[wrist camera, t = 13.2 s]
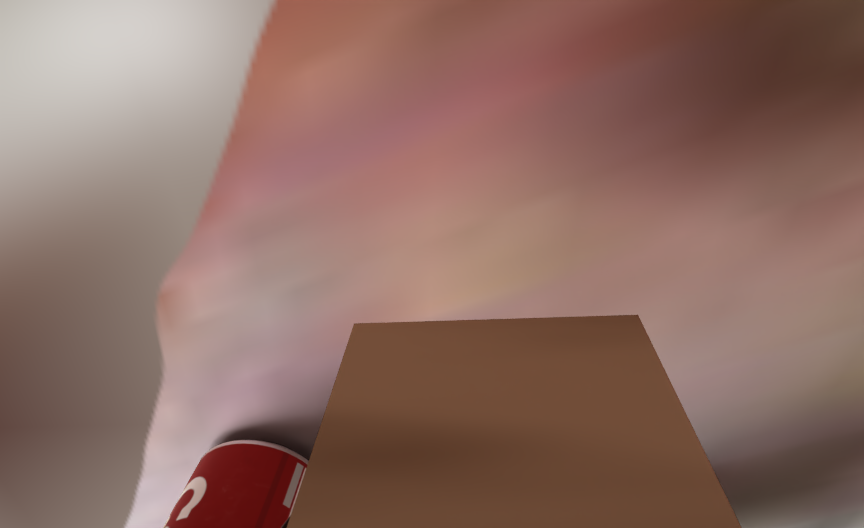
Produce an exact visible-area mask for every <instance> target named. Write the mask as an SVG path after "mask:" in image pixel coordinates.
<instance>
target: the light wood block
mask: <svg viewBox="0 0 864 528" xmlns="http://www.w3.org/2000/svg"><path fill="white" fill-rule="evenodd" d="M287 528H741V526H740V524H739V522H738V520H737V518H736V516H735V514H734V511H733V509H732V507H731V505H730V503H729V501H728V499H727V497H726V495H725V493H724V491H723V489H722V487H721V485H720V483H719V481H718V479H717V477H716V474H715V472H714V470H713V468H712V466H711V464H710V462H709V460H708V458H707V456H706V454H705V452H704V450H703V448H702V446H701V444H700V442H699V440H698V437H697V435H696V433H695V431H694V429H693V427H692V425H691V423H690V421H689V419H688V417H687V415H686V413H685V411H684V409H683V407H682V405H681V403H680V401H679V398H678V396H677V394H676V392H675V390H674V388H673V386H672V384H671V382H670V380H669V378H668V376H667V374H666V372H665V370H664V368H663V366H662V364H661V361H660V359H659V357H658V355H657V353H656V351H655V349H654V347H653V345H652V343H651V341H650V339H649V337H648V335H647V333H646V331H645V329H644V327H643V324H642V322H641V320H640V318H639V316H638V315H619V316H587V317H554V318H522V319H490V320H457V321H425V322H392V323H360V324H354V326H353V329H352V332H351V335H350V338H349V341H348V344H347V347H346V350H345V353H344V356H343V359H342V362H341V365H340V368H339V371H338V374H337V377H336V380H335V383H334V386H333V389H332V392H331V395H330V398H329V401H328V404H327V407H326V410H325V413H324V416H323V419H322V423H321V426H320V429H319V432H318V435H317V438H316V441H315V444H314V447H313V450H312V453H311V456H310V459H309V462H308V465H307V468H306V471H305V474H304V477H303V480H302V483H301V486H300V489H299V492H298V495H297V498H296V501H295V504H294V507H293V510H292V513H291V516H290V519H289V522H288V525H287Z"/></svg>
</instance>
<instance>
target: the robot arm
mask: <svg viewBox="0 0 864 528" xmlns="http://www.w3.org/2000/svg"><path fill="white" fill-rule="evenodd" d="M290 516H291V515H290ZM290 516H289V518H288V519H287V520H286V522H285V523H284V524H283V525H282V527H281V528H287V525H288V522H289V519H290Z"/></svg>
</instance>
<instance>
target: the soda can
mask: <svg viewBox="0 0 864 528" xmlns="http://www.w3.org/2000/svg"><path fill="white" fill-rule="evenodd" d="M308 462H309V461H308V460H307V459H306V458H304V457H303V456H301V455H299V454H298V453H296V452H294V451H292V450H290V449H288V448H286V447H284V446H281V445H278V444H275V443H270V442H265V441H258V440H235V441H229V442H225V443H222V444H220V445H217V446H215V447H213V448H212V449H210V450H209V451H208V452H207V453H205V455H204V456H203V457H202V458H201V460H200V462H199V464H198V465H197V467H196V469H195V471H194V473H193V474H192V476H191V478H190V480H189V482H188V483H187V485H186V487H185V489H184V491H183V493H182V494H181V496H180V498H179V500H178V502H177V503H176V505H175V507H174V509H173V511H172V512H171V514H170V516H169V518H168V520H167V521H166V523H165V525H164V527H163V528H281V527H282V525H283V524H284V523H285V522H286V520H287V519H288V518H289V516H290V515H291V513H292V510H293V507H294V504H295V501H296V498H297V495H298V492H299V489H300V486H301V483H302V480H303V477H304V474H305V471H306V468H307V465H308Z"/></svg>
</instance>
